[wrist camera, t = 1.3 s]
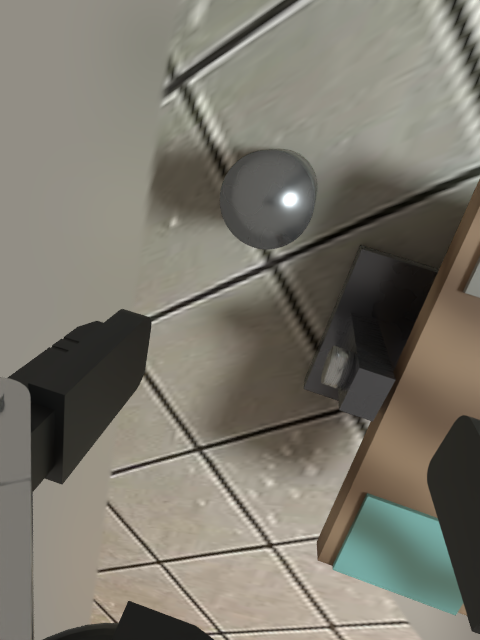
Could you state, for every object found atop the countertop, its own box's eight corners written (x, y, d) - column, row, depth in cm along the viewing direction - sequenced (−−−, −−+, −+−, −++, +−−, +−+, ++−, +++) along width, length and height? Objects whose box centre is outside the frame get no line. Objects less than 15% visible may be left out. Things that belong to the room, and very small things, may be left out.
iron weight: (255, 140, 25) (232, 137, 19) (328, 161, 25) (328, 166, 19) (236, 214, 28) (210, 233, 21) (303, 234, 27) (296, 260, 21)
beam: (484, 169, 19) (501, 164, 18) (687, 227, 19) (726, 228, 17) (316, 541, 26) (317, 564, 25) (459, 594, 26) (471, 621, 24)
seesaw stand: (357, 244, 27) (371, 285, 19) (610, 322, 26) (741, 402, 18) (302, 379, 32) (294, 457, 24) (509, 450, 31) (573, 556, 23)
